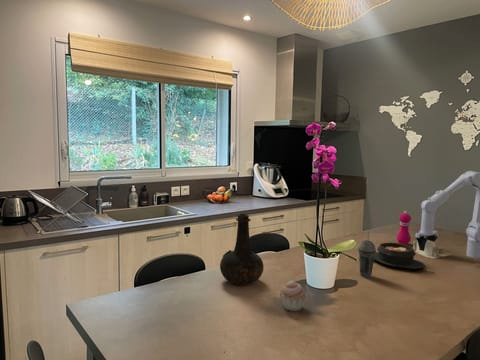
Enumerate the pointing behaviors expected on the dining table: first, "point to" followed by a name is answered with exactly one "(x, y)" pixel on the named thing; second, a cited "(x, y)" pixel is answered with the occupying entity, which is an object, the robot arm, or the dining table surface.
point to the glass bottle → (242, 258)
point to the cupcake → (293, 296)
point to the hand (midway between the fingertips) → (425, 249)
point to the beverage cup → (366, 257)
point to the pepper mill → (404, 229)
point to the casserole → (397, 256)
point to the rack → (436, 255)
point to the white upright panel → (427, 248)
